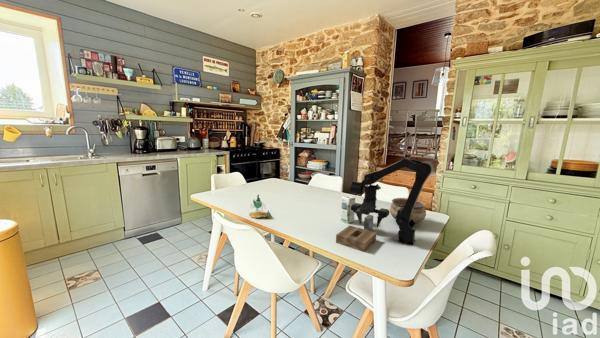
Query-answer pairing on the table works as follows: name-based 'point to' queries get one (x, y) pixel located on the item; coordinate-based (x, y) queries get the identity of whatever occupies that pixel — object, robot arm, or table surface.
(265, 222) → the table surface
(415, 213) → the cooking pot
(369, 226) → the upright grey stone slab
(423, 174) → the robot arm
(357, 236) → the post block
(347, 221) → the syrup box
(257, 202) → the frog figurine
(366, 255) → the table surface
